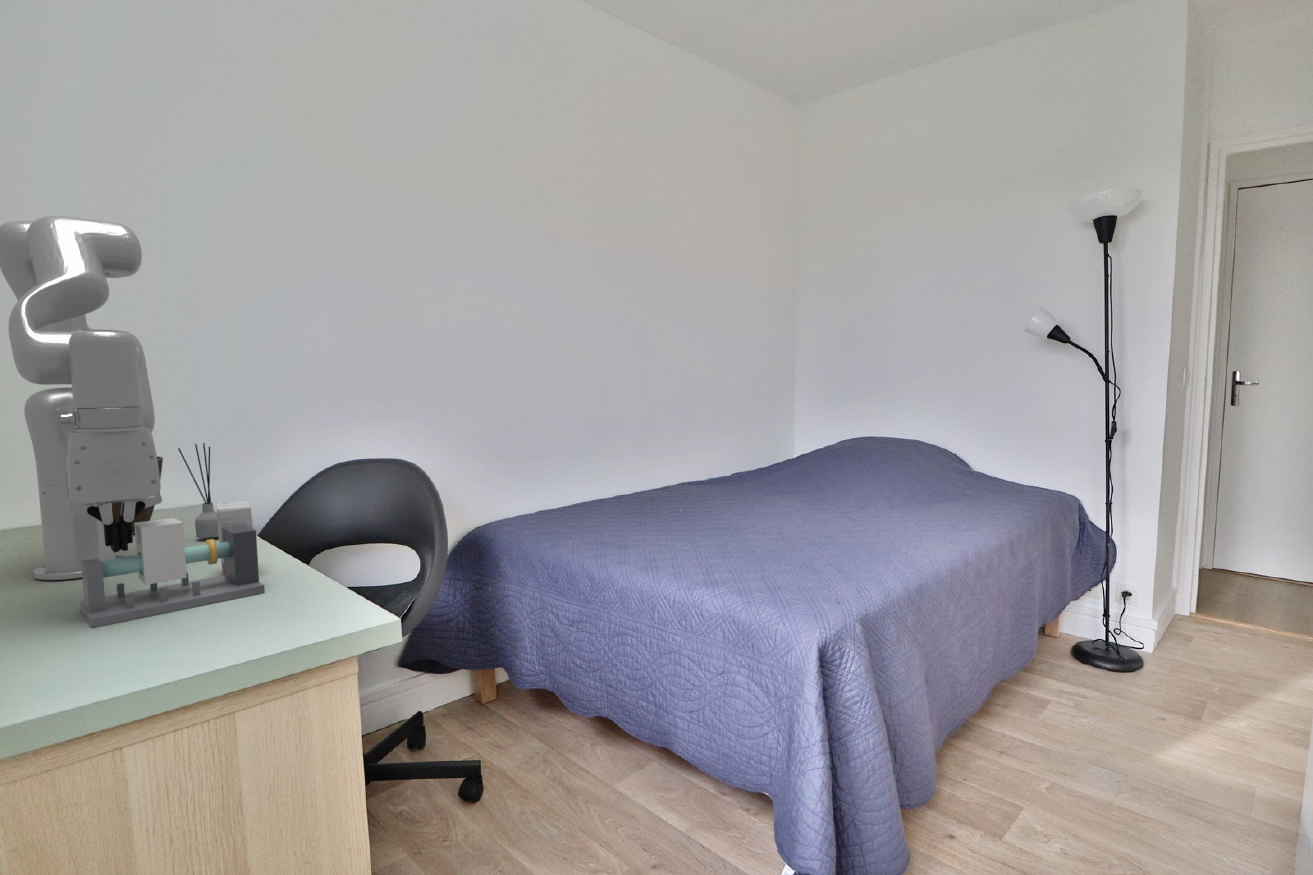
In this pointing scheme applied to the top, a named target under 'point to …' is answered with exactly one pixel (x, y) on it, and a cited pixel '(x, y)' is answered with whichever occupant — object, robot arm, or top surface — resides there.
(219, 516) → the ink box
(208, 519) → the reed diffuser
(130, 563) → the motor shaft test rig
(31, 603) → the top surface
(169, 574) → the sleeve
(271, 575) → the top surface
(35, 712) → the top surface
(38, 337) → the robot arm
